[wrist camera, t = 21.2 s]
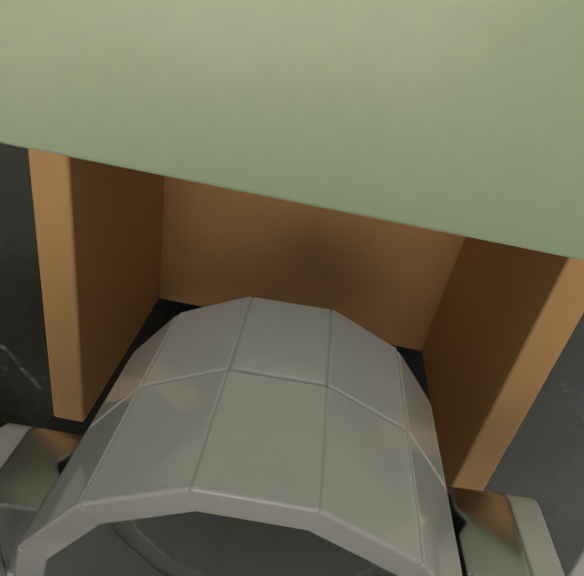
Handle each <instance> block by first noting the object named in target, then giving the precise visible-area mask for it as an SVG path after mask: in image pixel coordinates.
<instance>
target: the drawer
mask: <svg viewBox="0 0 584 576" xmlns="http://www.w3.org/2000/svg"><path fill="white" fill-rule="evenodd" d="M28 153H29V164H30V174H31V184H32V195H33V205H34V215H35V225H36V236H37V246H38V256H39V266H40V277H41V287H42V297H43V307H44V318H45V328H46V338H47V349H48V359H49V369H50V379H51V390H52V400H53V410H54V415H53V417H52V418H51V420H50V421H49V423H48V424H47V426H46V427H45V428H44V429H49V430H55V431H61V432H67V433H73V434H79V435H84V434H85V433H86V431H87V430H88V428H89V426H90V425H91V423H92V421H93V420H94V418H95V416H96V414H97V413H98V411H99V409H100V408H101V406H102V404H103V403H104V401H105V399H106V398H107V396H108V394H109V392H110V391H111V389H112V387H113V386H114V384H115V382H116V381H117V379H118V377H119V376H120V374H121V372H122V370H123V369H124V367H125V365H126V364H127V362H128V360H129V359H130V357H131V356H132V354H133V353H134V352H135V351H136V350H137V349H138V348H139V347H140V346H142V345H143V344H144V343H145V342H146V341H147V340H148V339H150V338H151V337H152V336H153V335H154V334H155V333H156V332H158V331H159V330H160V329H161V328H162V327H163V326H165V325H166V324H167V323H168V322H169V321H170V320H171V319H173V318H174V317H175V316H178V315H176V314H171V313H166V312H161V311H156V310H152V309H153V308H154V306H155V304H156V303H157V301H158V299H159V298H161V299H166V300H171V301H176V302H181V303H186V304H191V305H196V306H201V307H206V306H210V305H215V304H219V303H223V302H227V301H231V300H236V299H240V298H244V297H248V296H251V297H252V298H253V297H259V298H265V299H271V300H277V301H284V302H290V303H296V304H302V305H308V306H314V307H321V308H327V309H329V310H331V311H332V310H335V311H337V312H339V313H340V314H342V315H343V316H345V317H347V318H348V319H350V320H352V321H353V322H355V323H356V324H358V325H360V326H361V327H363V328H365V329H366V330H368V331H369V332H371V333H373V334H374V335H376V336H378V337H379V338H381V339H382V340H384V341H386V342H387V343H389V344H391V345H394V346H399V347H404V348H409V349H414V350H419V351H422V358H423V363H424V365H423V364H418V363H414V362H409V361H405V362H406V364H407V365H408V367H409V369H410V370H411V372H412V374H413V375H414V377H415V378H416V380H417V382H418V383H419V385H420V387H421V388H422V390H423V392H424V393H425V395H426V396H427V398H428V400H429V401H430V404H431V407H432V412H433V417H434V423H435V428H436V434H437V439H438V445H439V450H440V455H441V461H442V466H443V472H444V477H445V482H446V486H450V487H457V488H465V489H473V490H481V491H483V490H484V488H485V486H486V485H487V483H488V481H489V479H490V477H491V476H492V474H493V472H494V470H495V469H496V467H497V465H498V463H499V462H500V460H501V458H502V456H503V455H504V453H505V451H506V449H507V447H508V446H509V444H510V442H511V440H512V439H513V437H514V435H515V433H516V432H517V430H518V428H519V426H520V424H521V423H522V421H523V419H524V417H525V416H526V414H527V412H528V410H529V409H530V407H531V405H532V403H533V402H534V400H535V398H536V396H537V394H538V393H539V391H540V389H541V387H542V386H543V384H544V382H545V380H546V379H547V377H548V375H549V373H550V371H551V370H552V368H553V366H554V364H555V363H556V361H557V359H558V357H559V356H560V354H561V352H562V350H563V349H564V347H565V345H566V343H567V341H568V340H569V338H570V336H571V334H572V333H573V331H574V329H575V327H576V326H577V324H578V322H579V320H580V318H581V317H582V315H583V313H584V260H579V259H574V258H569V257H564V256H559V255H555V254H550V253H545V252H540V251H535V250H530V249H525V248H520V247H515V246H510V245H505V244H500V243H495V242H490V241H485V240H480V239H475V238H470V237H465V236H460V235H455V234H450V233H445V232H440V231H435V230H430V229H426V228H421V227H416V226H411V225H406V224H401V223H396V222H391V221H386V220H381V219H376V218H371V217H366V216H361V215H356V214H351V213H346V212H341V211H336V210H331V209H326V208H321V207H316V206H311V205H306V204H301V203H297V202H292V201H287V200H282V199H277V198H272V197H267V196H262V195H257V194H252V193H247V192H242V191H237V190H232V189H227V188H222V187H217V186H212V185H207V184H202V183H197V182H192V181H187V180H182V179H177V178H172V177H168V176H163V175H158V174H153V173H148V172H143V171H138V170H133V169H128V168H123V167H118V166H113V165H108V164H103V163H98V162H93V161H88V160H83V159H78V158H73V157H68V156H63V155H58V154H53V153H48V152H43V151H39V150H34V149H29V148H28Z"/></svg>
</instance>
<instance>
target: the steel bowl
mask: <svg viewBox="0 0 584 576" xmlns="http://www.w3.org/2000/svg"><path fill="white" fill-rule="evenodd" d="M14 576H463V575H462V569H461V564H460V558H459V553H458V548H457V542H456V537H455V531H454V526H453V520H452V515H451V510H450V504H449V499H448V495H447V488H446V482H445V477H444V472H443V466H442V461H441V455H440V450H439V445H438V439H437V434H436V428H435V423H434V417H433V412H432V407H431V404H430V401H429V400H428V398H427V396H426V395H425V393H424V392H423V390H422V388H421V387H420V385H419V383H418V382H417V380H416V378H415V377H414V375H413V374H412V372H411V370H410V369H409V367H408V365H407V364H406V362H405V361H404V359H403V357H402V356H401V354H400V353H399V352H398V351H397V349H396V348H395V347H394V346H392V345H391V344H389V343H387V342H386V341H384V340H382V339H381V338H379V337H378V336H376V335H374V334H373V333H371V332H369V331H368V330H366V329H365V328H363V327H361V326H360V325H358V324H356V323H355V322H353V321H352V320H350V319H348V318H347V317H345V316H343V315H342V314H340V313H339V312H337V311H335V310H332V311H331V310H329V309H327V308H321V307H314V306H308V305H302V304H296V303H290V302H284V301H277V300H271V299H265V298H259V297H253V298H252V297H251V296H248V297H244V298H240V299H236V300H231V301H227V302H223V303H219V304H215V305H210V306H206V307H202V308H198V309H193V310H189V311H185V312H181V313H180V314H179V315H178V316H175V317H174V318H173V319H171V320H170V321H169V322H168V323H167V324H166V325H165V326H163V327H162V328H161V329H160V330H159V331H158V332H156V333H155V334H154V335H153V336H152V337H151V338H150V339H148V340H147V341H146V342H145V343H144V344H143V345H142V346H140V347H139V348H138V349H137V350H136V351H135V352H134V353H133V354H132V356H131V357H130V359H129V360H128V362H127V364H126V365H125V367H124V369H123V370H122V372H121V374H120V376H119V377H118V379H117V381H116V382H115V384H114V386H113V387H112V389H111V391H110V392H109V394H108V396H107V398H106V399H105V401H104V403H103V404H102V406H101V408H100V409H99V411H98V413H97V414H96V416H95V418H94V420H93V421H92V423H91V425H90V426H89V428H88V430H87V431H86V433H85V434H84V436H83V438H82V439H81V441H80V443H79V444H78V446H77V448H76V449H75V451H74V453H73V455H72V456H71V458H70V460H69V461H68V463H67V465H66V466H65V468H64V470H63V471H62V473H61V475H60V477H59V478H58V480H57V482H56V483H55V485H54V487H53V488H52V490H51V492H50V493H49V495H48V497H47V498H46V500H45V502H44V504H43V505H42V507H41V509H40V510H39V512H38V514H37V515H36V517H35V519H34V520H33V522H32V524H31V525H30V527H29V529H28V531H27V532H26V534H25V536H24V537H23V539H22V541H21V542H20V544H19V546H18V548H17V555H16V562H15V570H14Z"/></svg>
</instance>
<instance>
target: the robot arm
mask: <svg viewBox="0 0 584 576" xmlns="http://www.w3.org/2000/svg"><path fill="white" fill-rule="evenodd" d="M83 436H84V435H79V434H73V433H67V432H61V431H55V430H49V429H43V428H38V427H31V426H24V425H18V424H11V423H7V424H6V425H4V426H3V427H1V428H0V576H7V573H6V572H9V573H14V570H15V562H16V555H17V548H18V546H19V544H20V542H21V541H22V539H23V537H24V536H25V534H26V532H27V531H28V529H29V527H30V525H31V524H32V522H33V520H34V519H35V517H36V515H37V514H38V512H39V510H40V509H41V507H42V505H43V504H44V502H45V500H46V498H47V497H48V495H49V493H50V492H51V490H52V488H53V487H54V485H55V483H56V482H57V480H58V478H59V477H60V475H61V473H62V471H63V470H64V468H65V466H66V465H67V463H68V461H69V460H70V458H71V456H72V455H73V453H74V451H75V449H76V448H77V446H78V444H79V443H80V441H81V439H82V438H83ZM446 488H447V495H448V499H449V504H450V510H451V515H452V520H453V526H454V531H455V537H456V542H457V548H458V553H459V558H460V564H461V569H462V575H463V576H565V575H564V573H563V570H562V567H561V564H560V562H559V559H558V556H557V553H556V551H555V548H554V545H553V542H552V540H551V537H550V534H549V531H548V529H547V526H546V523H545V520H544V518H543V515H542V512H541V509H540V507H539V504H538V503H537V502H536V500H535V499H534V498H528V497H521V496H514V495H507V494H501V493H496V492H488V491H481V490H473V489H465V488H457V487H450V486H446Z"/></svg>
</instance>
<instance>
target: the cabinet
mask: <svg viewBox="0 0 584 576" xmlns="http://www.w3.org/2000/svg"><path fill="white" fill-rule="evenodd" d="M0 143H4V144H9V145H14V146H19V147H24V148H29V149H34V150H39V151H43V152H48V153H53V154H58V155H63V156H68V157H73V158H78V159H83V160H88V161H93V162H98V163H103V164H108V165H113V166H118V167H123V168H128V169H133V170H138V171H143V172H148V173H153V174H158V175H163V176H168V177H172V178H177V179H182V180H187V181H192V182H197V183H202V184H207V185H212V186H217V187H222V188H227V189H232V190H237V191H242V192H247V193H252V194H257V195H262V196H267V197H272V198H277V199H282V200H287V201H292V202H297V203H301V204H306V205H311V206H316V207H321V208H326V209H331V210H336V211H341V212H346V213H351V214H356V215H361V216H366V217H371V218H376V219H381V220H386V221H391V222H396V223H401V224H406V225H411V226H416V227H421V228H426V229H430V230H435V231H440V232H445V233H450V234H455V235H460V236H465V237H470V238H475V239H480V240H485V241H490V242H495V243H500V244H505V245H510V246H515V247H520V248H525V249H530V250H535V251H540V252H545V253H550V254H555V255H559V256H564V257H569V258H574V259H579V260H584V0H0Z"/></svg>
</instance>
